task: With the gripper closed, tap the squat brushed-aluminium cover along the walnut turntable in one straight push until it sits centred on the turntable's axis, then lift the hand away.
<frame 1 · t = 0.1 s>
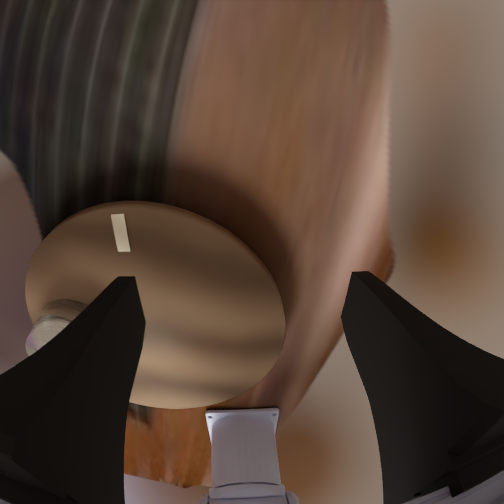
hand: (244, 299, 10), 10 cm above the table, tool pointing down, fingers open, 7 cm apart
turntable: (147, 332, 22), point 2 cm above the table, hinge at 0.0°, touching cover
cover: (80, 334, 21), point 2 cm above the table, touching turntable
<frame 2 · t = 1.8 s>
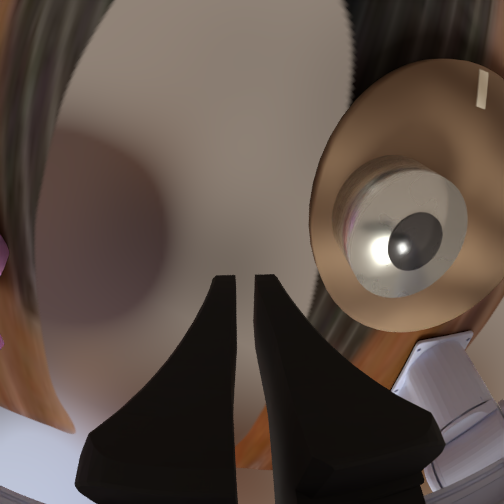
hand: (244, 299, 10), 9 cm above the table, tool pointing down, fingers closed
turntable: (453, 213, 18), point 2 cm above the table, hinge at 0.0°, touching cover
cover: (388, 213, 17), point 2 cm above the table, touching turntable
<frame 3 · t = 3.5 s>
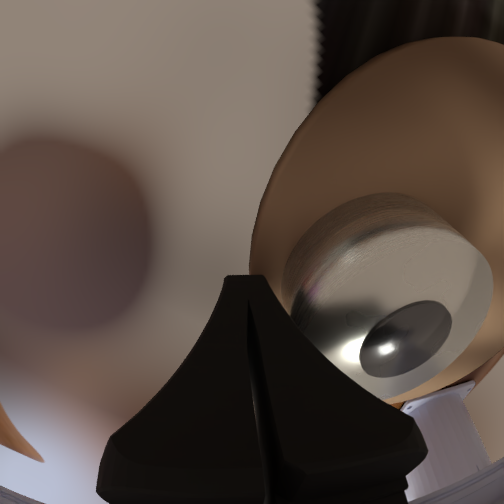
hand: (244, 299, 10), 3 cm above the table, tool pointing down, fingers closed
turntable: (466, 267, 12), point 2 cm above the table, hinge at 0.0°
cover: (371, 280, 11), point 3 cm above the table, touching gripper
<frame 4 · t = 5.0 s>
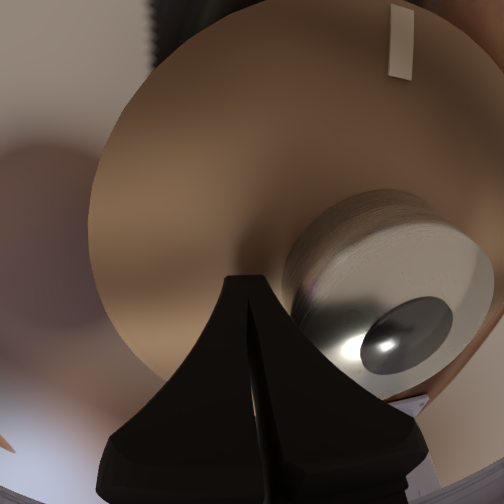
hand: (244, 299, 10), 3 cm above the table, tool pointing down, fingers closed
turntable: (360, 272, 12), point 2 cm above the table, hinge at 0.0°, touching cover
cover: (372, 277, 11), point 3 cm above the table, touching gripper, turntable
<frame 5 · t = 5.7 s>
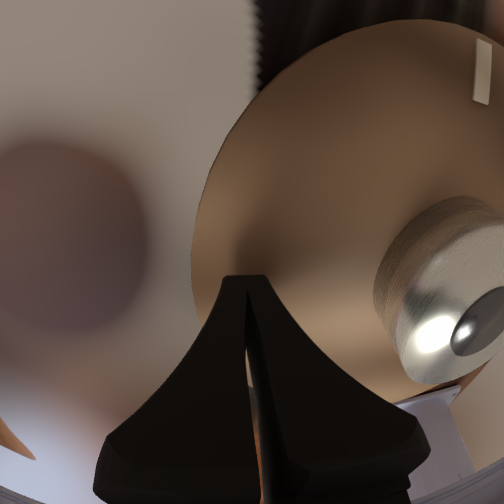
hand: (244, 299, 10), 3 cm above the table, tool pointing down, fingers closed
turntable: (432, 268, 12), point 2 cm above the table, hinge at 0.0°, touching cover
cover: (444, 272, 12), point 2 cm above the table, touching turntable
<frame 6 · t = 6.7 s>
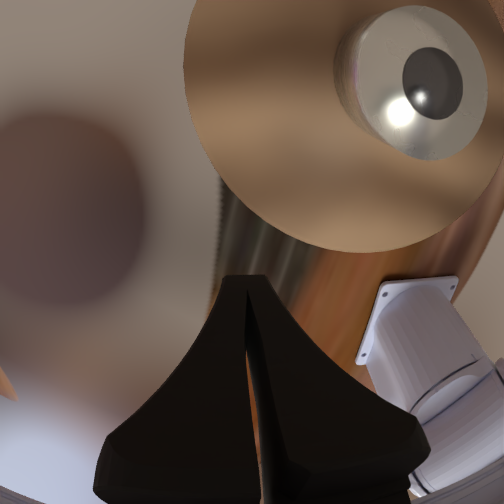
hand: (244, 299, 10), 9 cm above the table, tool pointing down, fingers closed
turntable: (387, 79, 13), point 2 cm above the table, hinge at 0.0°, touching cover
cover: (397, 78, 13), point 2 cm above the table, touching turntable
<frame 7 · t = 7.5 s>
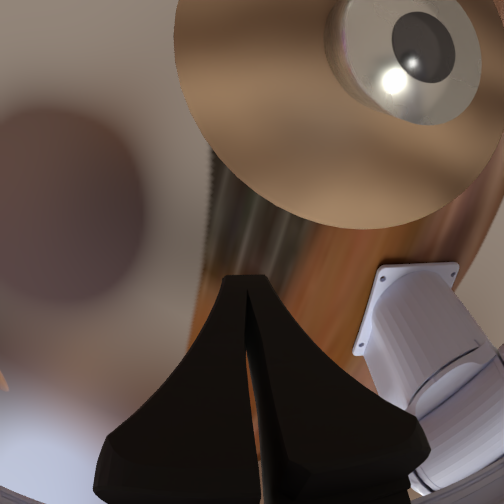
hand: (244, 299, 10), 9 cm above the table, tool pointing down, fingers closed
turntable: (380, 50, 13), point 2 cm above the table, hinge at 0.0°, touching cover
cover: (389, 48, 12), point 2 cm above the table, touching turntable
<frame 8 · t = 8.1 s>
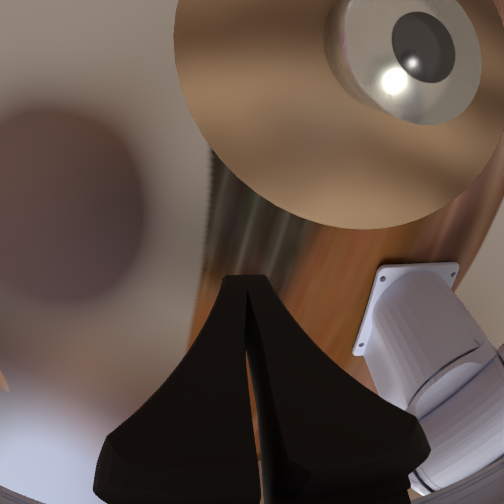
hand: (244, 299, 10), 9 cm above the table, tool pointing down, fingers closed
turntable: (380, 50, 13), point 2 cm above the table, hinge at 0.0°, touching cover
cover: (389, 48, 12), point 2 cm above the table, touching turntable
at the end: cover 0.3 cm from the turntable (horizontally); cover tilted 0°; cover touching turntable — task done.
